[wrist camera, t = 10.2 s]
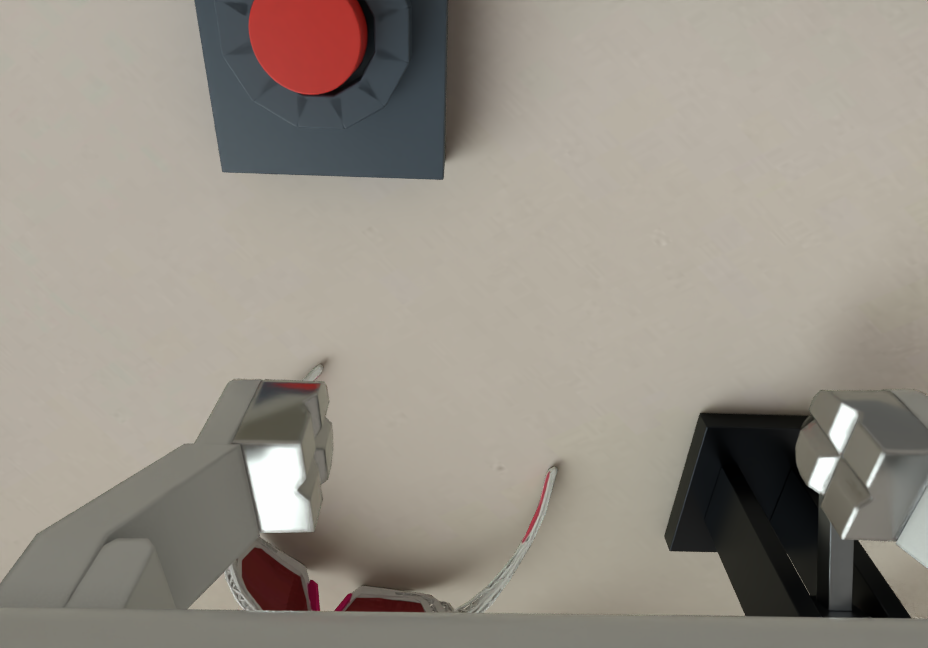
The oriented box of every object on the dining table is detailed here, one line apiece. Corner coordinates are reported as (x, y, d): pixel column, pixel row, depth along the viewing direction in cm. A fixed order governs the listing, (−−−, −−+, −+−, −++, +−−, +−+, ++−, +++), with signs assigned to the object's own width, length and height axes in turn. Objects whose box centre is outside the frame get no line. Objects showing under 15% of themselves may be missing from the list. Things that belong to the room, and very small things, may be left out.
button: (256, -32, 21) (240, -31, 19) (365, -27, 21) (358, -26, 19) (269, 84, 22) (255, 93, 21) (370, 87, 22) (363, 96, 21)
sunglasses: (197, 551, 40) (170, 614, 35) (306, 332, 35) (292, 371, 30) (435, 631, 44) (440, 696, 39) (561, 446, 39) (582, 495, 35)
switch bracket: (699, 412, 35) (799, 601, 24) (840, 416, 35) (997, 604, 25) (663, 536, 40) (734, 735, 30) (787, 538, 40) (899, 736, 30)
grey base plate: (193, -158, 22) (144, -180, 18) (451, -146, 22) (449, -165, 19) (239, 156, 27) (208, 185, 24) (444, 163, 28) (442, 192, 24)
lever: (786, 401, 30) (825, 410, 27) (850, 403, 30) (897, 412, 27) (779, 648, 30) (818, 686, 27) (844, 649, 30) (890, 687, 27)
